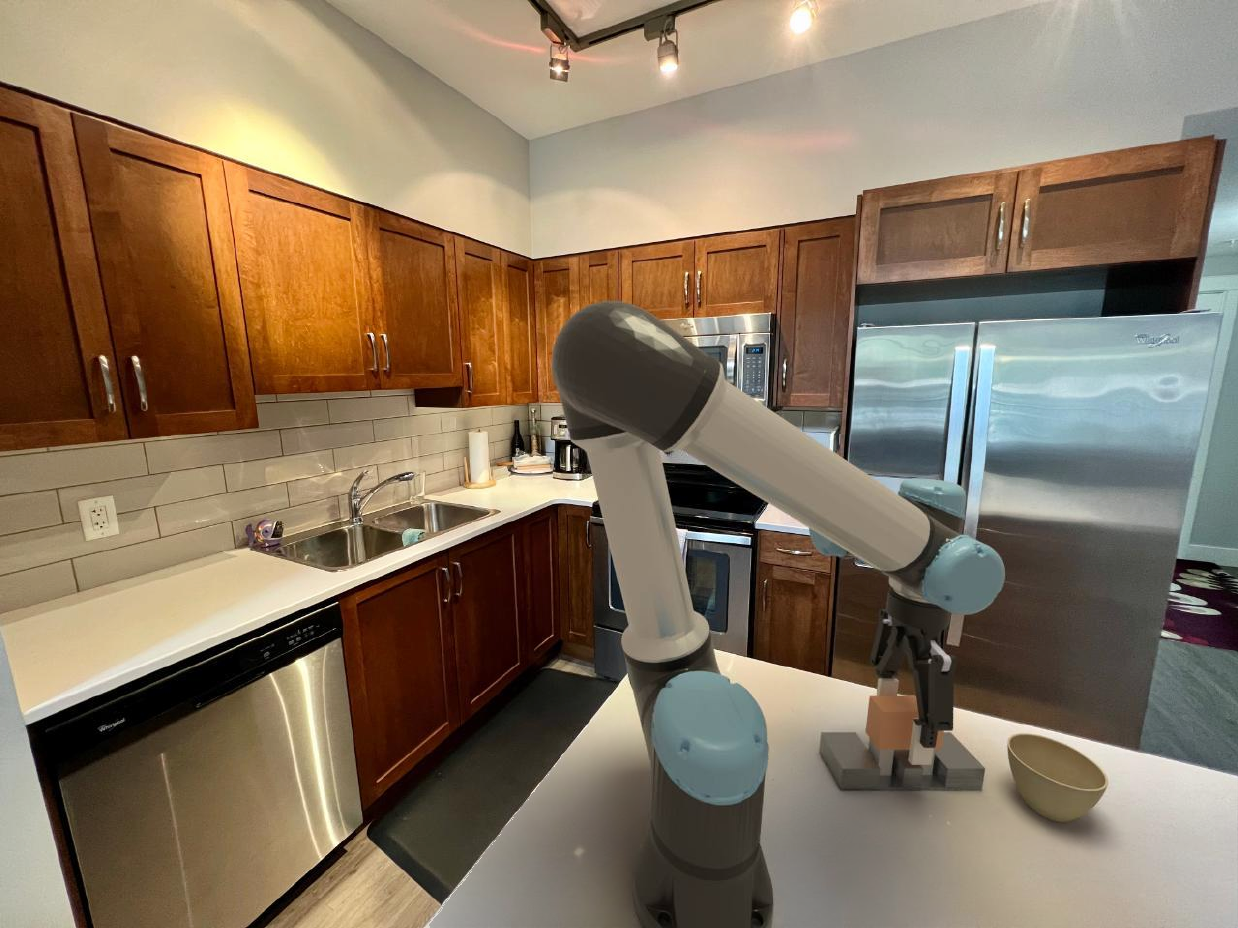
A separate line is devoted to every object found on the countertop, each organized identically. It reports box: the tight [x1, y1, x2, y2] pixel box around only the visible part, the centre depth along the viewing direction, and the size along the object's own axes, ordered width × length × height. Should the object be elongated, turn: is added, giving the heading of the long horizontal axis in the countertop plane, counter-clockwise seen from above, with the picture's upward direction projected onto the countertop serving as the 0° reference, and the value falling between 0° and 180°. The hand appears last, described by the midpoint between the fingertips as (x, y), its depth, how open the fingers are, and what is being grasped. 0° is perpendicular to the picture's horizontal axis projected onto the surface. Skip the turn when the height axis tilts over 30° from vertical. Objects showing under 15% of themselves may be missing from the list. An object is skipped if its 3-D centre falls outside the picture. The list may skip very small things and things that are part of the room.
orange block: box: [865, 694, 945, 775], centre depth 70 cm, size 9×4×10 cm, turn 91°
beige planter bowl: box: [1006, 732, 1109, 823], centre depth 65 cm, size 10×10×7 cm
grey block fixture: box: [818, 731, 986, 792], centre depth 71 cm, size 20×7×4 cm, turn 91°
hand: (900, 738), depth 70 cm, fingers open, 8 cm apart
